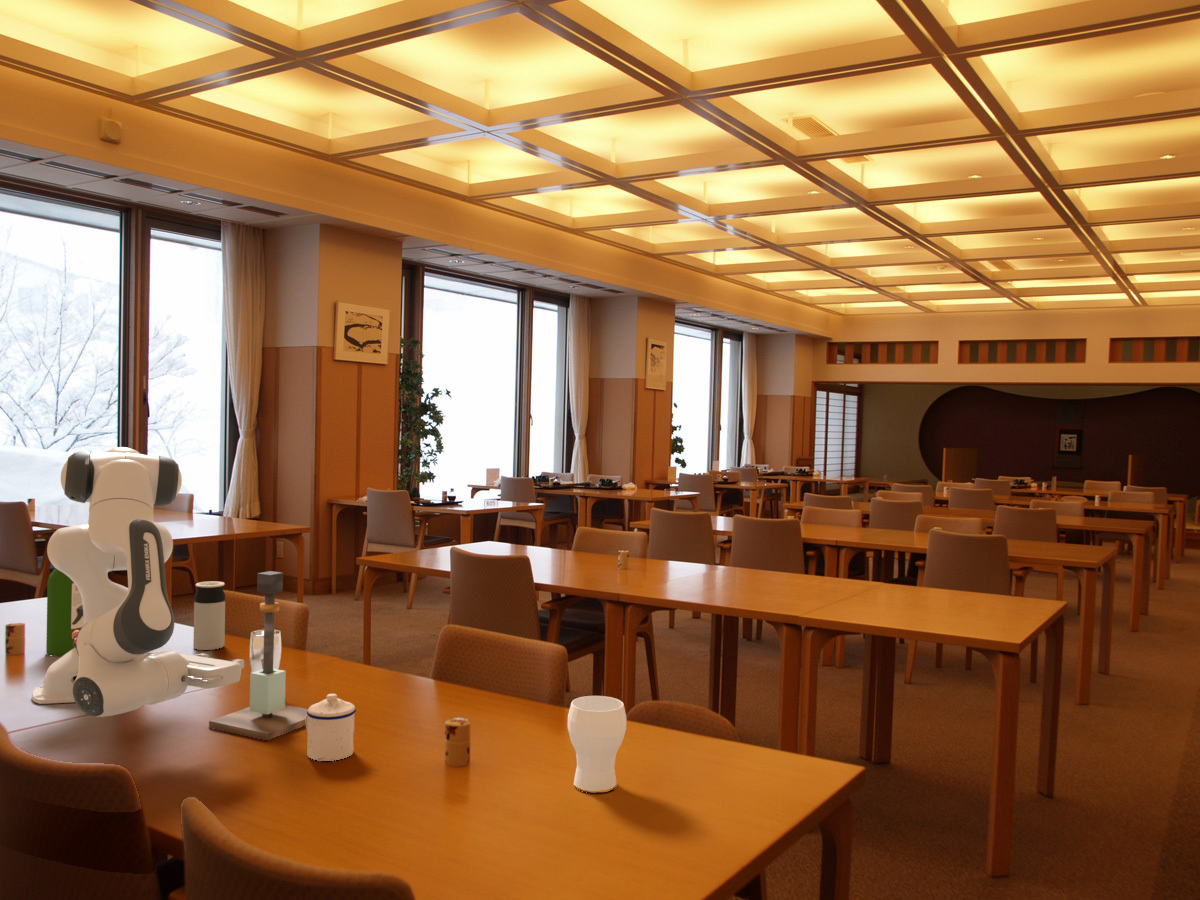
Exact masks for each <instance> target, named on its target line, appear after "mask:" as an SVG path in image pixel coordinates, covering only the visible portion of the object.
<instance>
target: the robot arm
mask: <svg viewBox="0 0 1200 900" xmlns="http://www.w3.org/2000/svg"><path fill="white" fill-rule="evenodd" d="M182 482H183V478H182V473H181V470H180V468H179V464H178V463H177V462H176V461H175V460H174V459H172V458H169V457H166V456H162V455H159V456H154V455H150V454H149V455H148V454H143V453H141V452H139V451H138V450H135V449H133V448H130V447H125V446H119V447H118V446H117V447H113V448H111V449H108V450H107V451H105V452H103V451H102V452H91V451H90V450H87V451H78V452H74V453H72V454H70V455H69V456H68V458H67V460H66V462H65V463H64V464H63V466H62V468H61V472H60V484H61V487H62V490H63V492H64V495H65V496H66V497H67V498H68V499H69V500H71V501H74V502H77V503H81V504H86V503H89V505H88V506H89V507H88V522H87V523H83V524H75V525H71V526H70V525H69V526H66V527H61V528H58V529H56V531H54V532H53V534H52V535H51V536H50V537H49V540H48V543H47V549H46V553H47V558H48V560H49V562H50V564H51V565H52V566H53V567H54V569H55V568H56V569H58V570H59V571H61V572H63V573H64V574H66V575H67V576H68V577H69V578H70V579H71V580H72V581H73V582H74V583H75V585H76V586H77V588H78V590H79V592H80V595H81V598H82V603H83V616H84V626H83V627H82V628H81V629H80V630H75V631H74V632H73V633H72V638H73V647H74V648H73V649H72V650H70V651H69V652H68V653H66V654H65V655H64V656H60V657H58V659H57V660H56V661H53V663H52V664H51V665H49V667H48V668H47V670H46V673H45V675H44V679H43V684H40V685H39V686H37V687H35V688H34V689H33V692H32V693H31V695H32V696H31V700H32V702H34V703H35V704H39V705H41V704H42V705H45V704H48V705H49V704H62V703H65V704H67V703H68V704H69V703H75V704H76V705H77V708H79V710H81V711H82V712H83V713H85V714H86V715H88V716H90V717H97V718H103V717H104V718H105V717H112V716H117V715H121V714H125V713H128V712H132V711H135V710H138V709H140V708H141V707H143V706H145V705H147V706H148V705H157V704H159V703H162V702H166V701H169V700H174V699H176V698H180V697H181V696H183V694H184V693H185V692H186V691H187V689H188V686H190V687H195V688H200V689H214V688H215V689H216V688H220V687H224V686H230V685H233V684H237V683H239V682H240V680H241V676H242V673H241V672H242V669H244V668H245V660H244V659H242V658H241V659H240V658H237V659H231V660H225V659H218V658H213V657H210V654H209V653H208V654H207V653H205V652H204V653H203V652H202V653H198V654H188V653H181V652H177V651H175V650H166V651H164V650H163V651H157V652H156V651H155V650H158V649H160V648H162V647H163V646H165V645H166V644H167V643H168V642H169V641H170V639H171V637H172V636H173V633H174V629H175V617H174V616H175V615H174V612H173V608H172V606H171V603H170V600H169V595H168V590H167V589H168V588H167V579H166V568H165V567H166V565H165V563H166V562H167V561H168V560H169V558H171V555H172V552H173V550H174V541H173V536H172V533H170V531H169V529H167V527H166V526H165V525H163V524H160V523H158V522H156V521H154V507H161V506H168V505H170V504H172V503H173V502H174V501H175V500H176V498H177V496H178V495H179V492H180V491H181V488H182V484H183V483H182ZM112 571H114V572H115V571H127V587H126V586H125V585H122V584H119V583H116V582H114V581H112V580H111V579H109V575H108V573H109V572H112ZM153 651H155V652H153Z"/></svg>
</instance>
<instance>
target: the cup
mask: <svg viewBox="0 0 1200 900" xmlns="http://www.w3.org/2000/svg"><path fill="white" fill-rule="evenodd" d="M569 706H570V707H569V710H568V714H567V731H568V735H569V739H570V743H571V744H572V746H573V748H574V751H575V757H576V769H575V774H574V779H573V786H574V785H575V786H576V787H578V788H581V789H583V790H588V791H601V790H607V789H610V788H613V787H614V786H615V785H616V786H617V777H616V771H615V770H616V769H615V768H616V767H615V764H616V758H617V753H618V751H619V749H620V747H621V745H622V744H623V741H624V737H625V734H626V731H627V714H626V709H625V705H624V702H623V701H621V700H620V699H618V698H615V697H612V696H606V695H605V696H604V695H588V696H587V695H586V696H579V697H577V698H574V699H572V701H571V703H570V705H569Z"/></svg>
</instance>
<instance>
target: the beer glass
mask: <svg viewBox="0 0 1200 900" xmlns="http://www.w3.org/2000/svg"><path fill="white" fill-rule="evenodd" d="M281 632H282V631H281V630H278V629H274V657H273V669H278V670H280V669H279V668H280V664H281V657H282V636H281V635H282V634H281ZM263 655H264V629H257V630H254V631H251V632H250V639H249V655H248V656H249V665H250V672H251V673H252V672H255V671H259V670H262V669H263Z"/></svg>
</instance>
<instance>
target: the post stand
mask: <svg viewBox="0 0 1200 900" xmlns="http://www.w3.org/2000/svg"><path fill="white" fill-rule="evenodd" d="M256 575H257V577H256V579H257V580H256V582H257V583H256V592H257V593H261V594H264V602H260V603H259V612H260V613H264V615H263V617H264V618H263V622H264V624H263V625H264V627H263V630H264V655H263V673H264V674H271V673H273V657H274V630H275V613H277V612H279V611H280V602H277V601H275V600H276V597H275V596H276V594H278V593H283V591H284V590H283V588H284V585H283V584H284V572H280V571H273V570H272V571H271V570H269V571H264V572H258V573H257V574H256ZM249 709H250V706H248V707H245V708H243V709H239V710H237V711H233V712H231V713H228V714H225V715H222V716H220V717H216V718H214V719H211V720H208V728H209V729H211V728H214V729H213V730H215V729H218V730H217V731H220V730H222V731H221V732H224V731H226V732H225V733H229V732H231V733H230V734H233V733H236V734H235V735H238V734H240V735H239V736H242V735H245V736H244V737H246V736H250V737H249V738H251V737H255V738H259V739H258V740H260V739H264V740H269V741H271V740H270V739H272V738H274V739H276V738H275V737H277V736H279V737H281V736H280V735H282V736H284V735H286V733H287V734H289V733H292V732H294V731H296V730H295V729H297V730H299V729H301V727H302V728H304V727H306V726H305V717H306V715H307V711H308V709H307V708H303V707H297V706H293V705H287V704H285V708H284V709H281V710H279V711H276V712H273V713H270V714H268V715H267V714H262V713H258V712H253V711H249ZM303 726H304V727H303ZM298 728H299V729H298ZM293 730H294V731H293ZM291 731H292V732H291ZM288 732H289V733H288ZM283 734H284V735H283ZM255 738H254V739H255ZM277 738H278V737H277ZM264 740H263V741H264ZM272 740H273V739H272Z"/></svg>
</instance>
